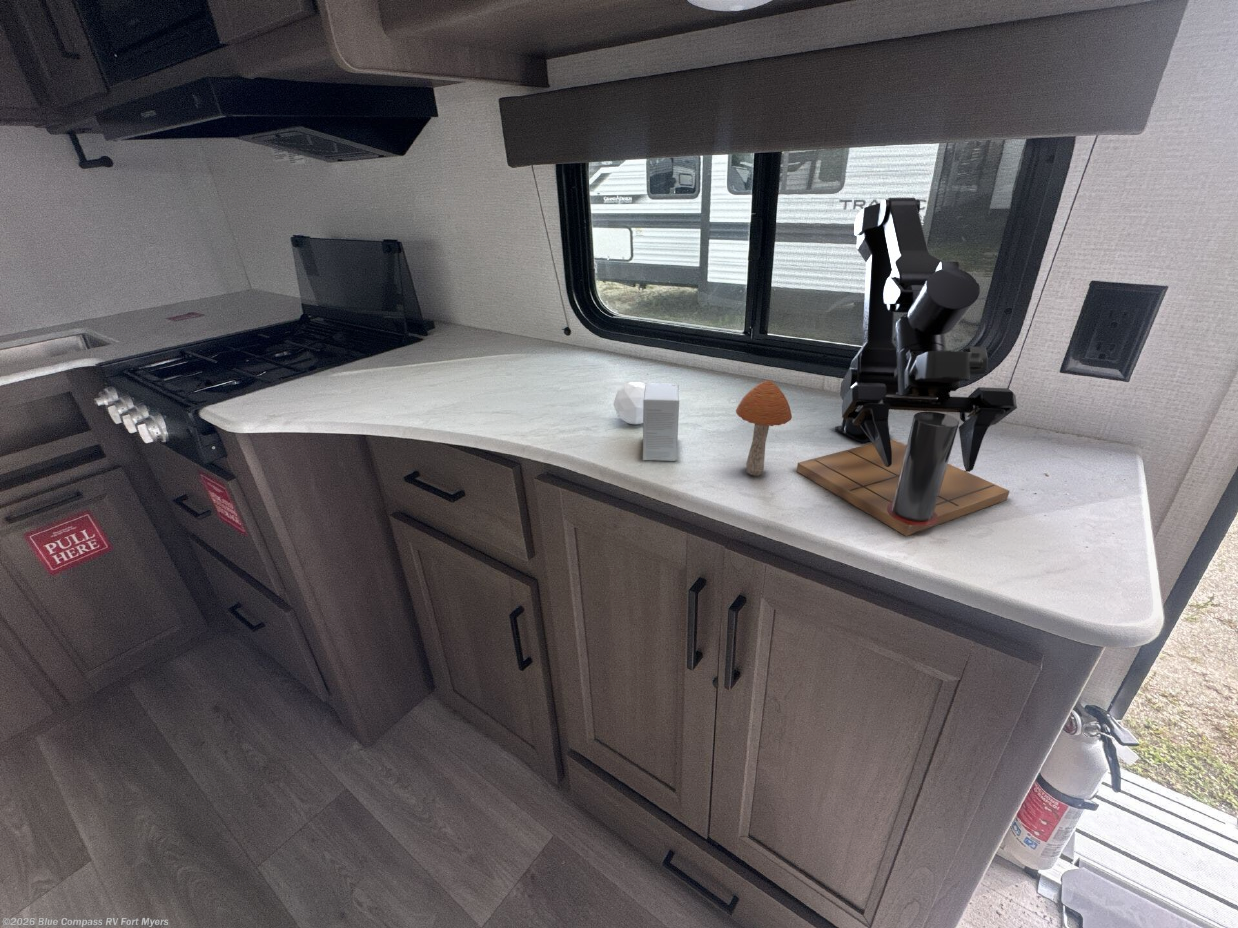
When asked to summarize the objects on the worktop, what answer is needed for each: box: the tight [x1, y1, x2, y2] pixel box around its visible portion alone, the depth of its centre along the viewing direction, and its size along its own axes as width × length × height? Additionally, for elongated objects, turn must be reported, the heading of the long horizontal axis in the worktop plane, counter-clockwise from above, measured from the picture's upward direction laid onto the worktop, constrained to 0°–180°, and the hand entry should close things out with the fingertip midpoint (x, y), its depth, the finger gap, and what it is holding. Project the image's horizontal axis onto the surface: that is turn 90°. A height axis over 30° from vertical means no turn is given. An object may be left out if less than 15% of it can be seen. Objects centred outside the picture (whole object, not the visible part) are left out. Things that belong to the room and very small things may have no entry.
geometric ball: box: [613, 382, 646, 425], centre depth 104 cm, size 8×8×8 cm
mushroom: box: [735, 379, 793, 477], centre depth 83 cm, size 8×8×15 cm
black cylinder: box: [892, 411, 960, 522], centre depth 70 cm, size 5×5×13 cm
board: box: [796, 438, 1011, 537], centre depth 82 cm, size 21×20×2 cm
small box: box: [642, 382, 680, 462], centre depth 92 cm, size 8×6×10 cm
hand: (928, 468), depth 68 cm, fingers open, 9 cm apart
